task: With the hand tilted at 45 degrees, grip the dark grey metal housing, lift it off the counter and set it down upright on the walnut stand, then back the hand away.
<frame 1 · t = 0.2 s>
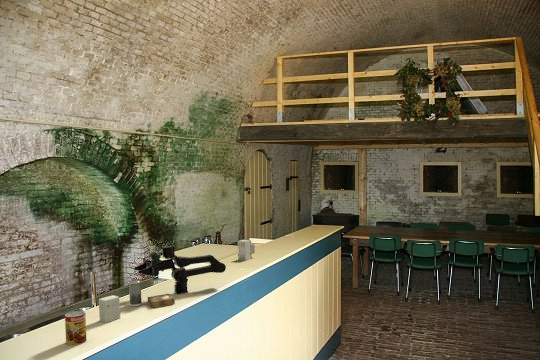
hand: (136, 270, 245), 16 cm above the worktop, tool horizontal, fingers open, 9 cm apart
canned food: (76, 342, 185), on the worktop
small box: (110, 319, 213), on the worktop
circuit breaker: (247, 258, 355), on the worktop
stand: (161, 303, 237), on the worktop
housing: (135, 304, 237), on the worktop
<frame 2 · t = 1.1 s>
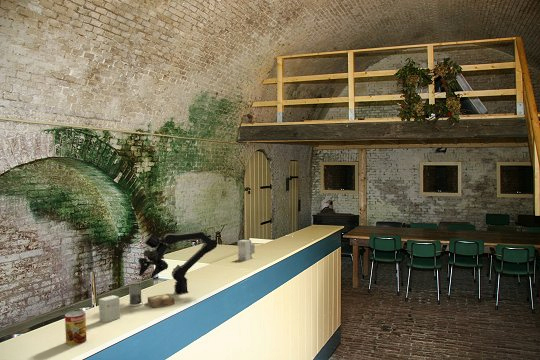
hand: (145, 276, 243), 14 cm above the worktop, tool tilted 45°, fingers open, 9 cm apart
nothing on the worktop moved.
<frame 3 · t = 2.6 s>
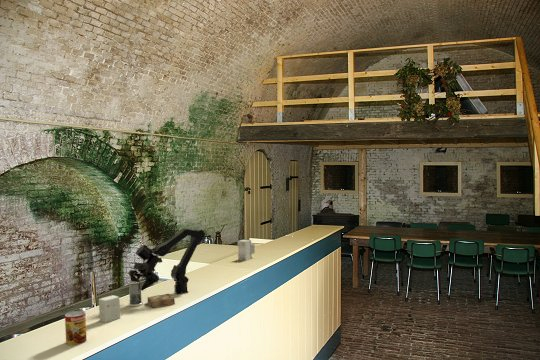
hand: (135, 289, 237), 8 cm above the worktop, tool tilted 45°, fingers open, 9 cm apart
nothing on the worktop moved.
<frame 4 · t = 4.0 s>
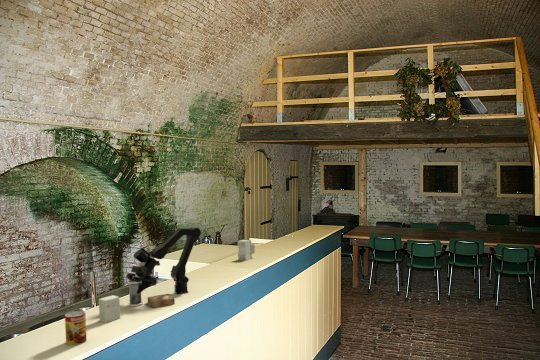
hand: (133, 292, 236), 7 cm above the worktop, tool tilted 45°, fingers closed on housing, 6 cm apart
housing: (135, 304, 237), on the worktop, touching gripper
everything else where it was.
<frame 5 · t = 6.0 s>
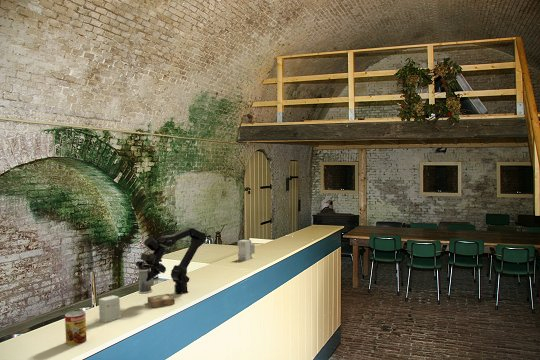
hand: (142, 280, 236), 13 cm above the worktop, tool tilted 45°, fingers closed on housing, 6 cm apart
housing: (145, 291, 237), point 6 cm above the worktop, touching gripper
everything else where it was.
when the fingers open (11 cm above the worktop, at t = 8.0 s): housing drops 1 cm, resting on stand.
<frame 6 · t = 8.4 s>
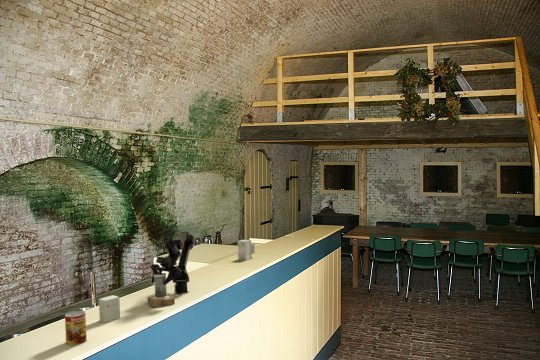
hand: (158, 283, 236), 11 cm above the worktop, tool tilted 45°, fingers open, 9 cm apart
housing: (160, 297, 237), point 3 cm above the worktop, touching stand
everything else where it was.
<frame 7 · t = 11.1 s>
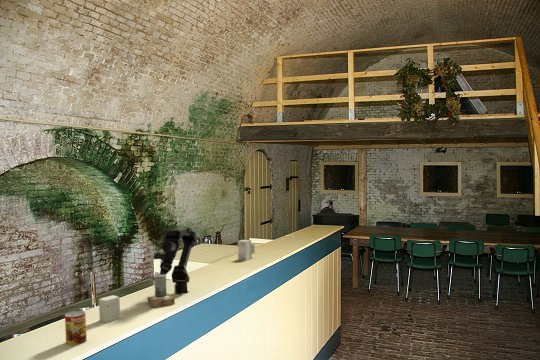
hand: (159, 277, 248), 12 cm above the worktop, tool tilted 25°, fingers open, 9 cm apart
nothing on the worktop moved.
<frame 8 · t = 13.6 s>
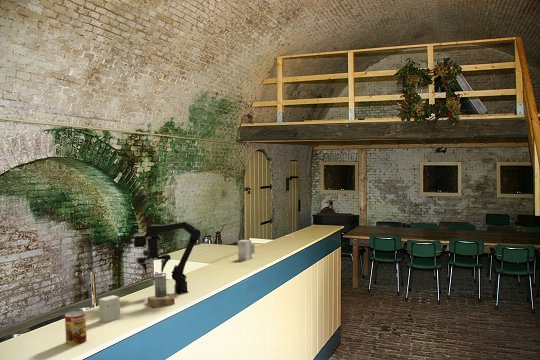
hand: (154, 273, 257), 12 cm above the worktop, tool pointing down, fingers open, 9 cm apart
nothing on the worktop moved.
at the end: housing inside the target area on the stand (0.1 cm from its centre), point 3.1 cm above the stand's base; housing tilted 0°; the gripper is holding nothing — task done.
